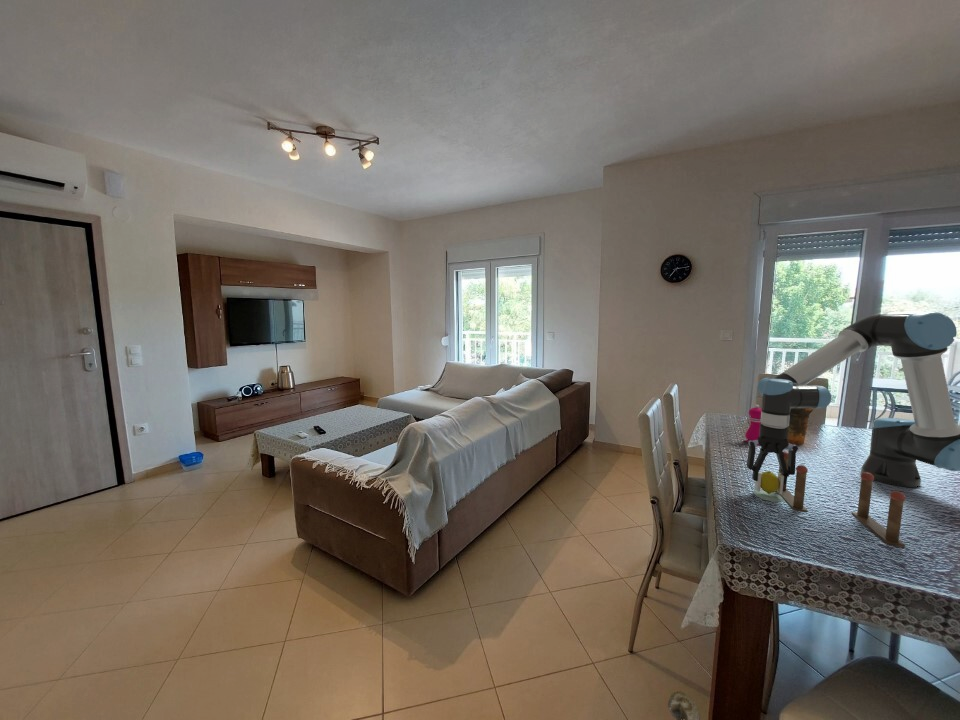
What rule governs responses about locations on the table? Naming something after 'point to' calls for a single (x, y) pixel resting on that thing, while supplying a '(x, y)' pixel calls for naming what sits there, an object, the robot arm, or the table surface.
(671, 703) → the cake
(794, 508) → the gate course
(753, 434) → the pepper mill
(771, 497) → the pad
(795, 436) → the vessel
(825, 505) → the table surface
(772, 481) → the lemon
